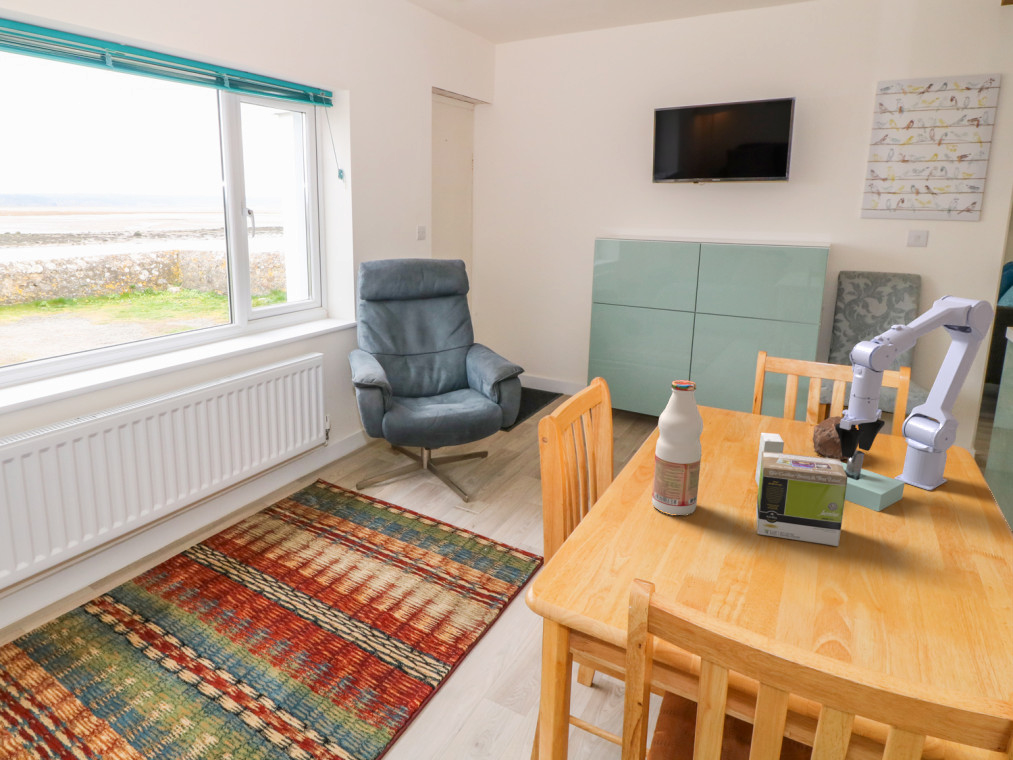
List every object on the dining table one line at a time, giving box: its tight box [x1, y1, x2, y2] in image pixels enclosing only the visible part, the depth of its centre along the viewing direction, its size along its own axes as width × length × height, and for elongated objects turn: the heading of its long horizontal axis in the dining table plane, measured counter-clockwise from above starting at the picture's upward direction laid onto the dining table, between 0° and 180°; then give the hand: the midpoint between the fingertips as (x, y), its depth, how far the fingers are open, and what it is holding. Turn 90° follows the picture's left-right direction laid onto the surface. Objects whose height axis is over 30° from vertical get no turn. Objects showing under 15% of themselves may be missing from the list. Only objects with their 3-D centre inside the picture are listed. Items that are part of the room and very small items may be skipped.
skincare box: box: [754, 432, 785, 487], centre depth 153 cm, size 6×4×12 cm
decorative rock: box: [812, 415, 859, 461], centre depth 172 cm, size 13×11×10 cm
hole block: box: [841, 461, 906, 512], centre depth 151 cm, size 11×18×4 cm, turn 36°
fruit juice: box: [651, 379, 704, 516], centre depth 139 cm, size 9×9×28 cm
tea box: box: [756, 451, 848, 547], centre depth 131 cm, size 15×10×15 cm
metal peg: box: [846, 449, 865, 480], centre depth 150 cm, size 3×3×10 cm
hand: (855, 453), depth 149 cm, fingers open, 7 cm apart
